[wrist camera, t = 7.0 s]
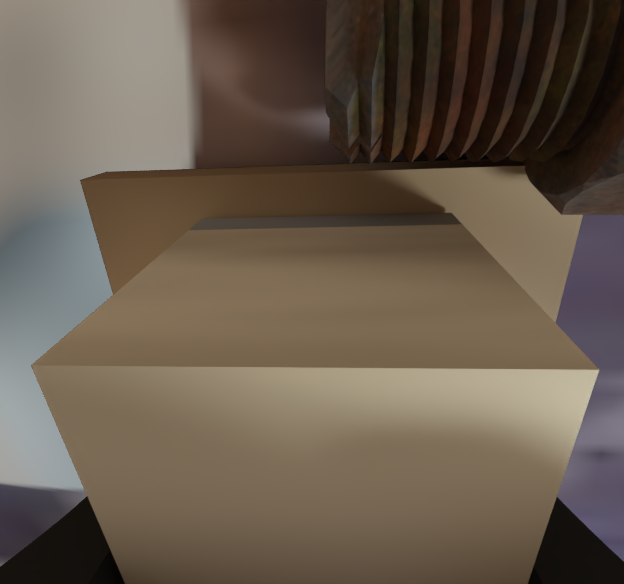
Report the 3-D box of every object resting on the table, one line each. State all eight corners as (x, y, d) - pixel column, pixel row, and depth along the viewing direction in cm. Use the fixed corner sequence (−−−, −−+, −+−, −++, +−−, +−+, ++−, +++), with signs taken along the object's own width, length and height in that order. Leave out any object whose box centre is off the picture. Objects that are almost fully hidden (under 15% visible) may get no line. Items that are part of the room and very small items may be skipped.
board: (468, 597, 15) (476, 629, 14) (212, 582, 16) (204, 611, 15) (568, 156, 8) (597, 163, 7) (106, 171, 9) (79, 179, 8)
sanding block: (417, 514, 12) (464, 772, 7) (250, 507, 12) (196, 749, 8) (451, 212, 8) (599, 369, 3) (202, 218, 8) (30, 365, 4)
